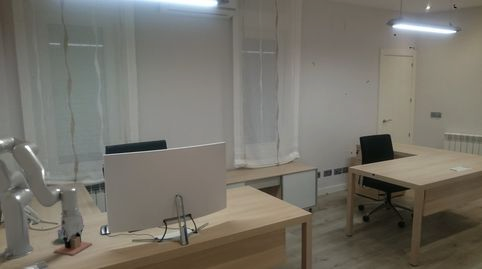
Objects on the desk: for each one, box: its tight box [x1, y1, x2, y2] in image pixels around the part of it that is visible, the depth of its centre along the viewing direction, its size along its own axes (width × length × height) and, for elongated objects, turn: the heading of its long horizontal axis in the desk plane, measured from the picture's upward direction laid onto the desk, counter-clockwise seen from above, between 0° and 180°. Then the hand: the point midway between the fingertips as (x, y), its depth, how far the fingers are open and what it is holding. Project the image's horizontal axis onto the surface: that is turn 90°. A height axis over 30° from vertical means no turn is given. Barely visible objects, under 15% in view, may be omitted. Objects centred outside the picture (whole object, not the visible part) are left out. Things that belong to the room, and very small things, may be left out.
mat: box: [53, 246, 91, 257], centre depth 176 cm, size 13×13×1 cm
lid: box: [53, 236, 93, 256], centre depth 175 cm, size 12×12×6 cm
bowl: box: [57, 230, 76, 244], centre depth 188 cm, size 10×10×5 cm
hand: (73, 244), depth 176 cm, fingers open, 6 cm apart
